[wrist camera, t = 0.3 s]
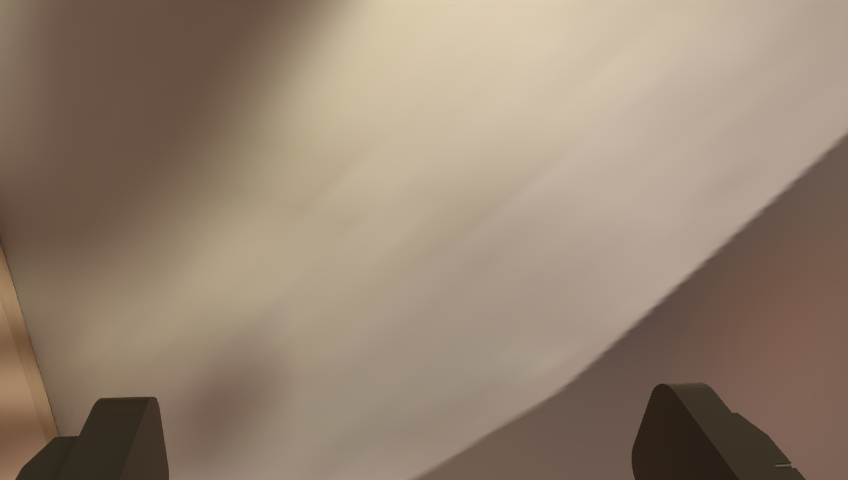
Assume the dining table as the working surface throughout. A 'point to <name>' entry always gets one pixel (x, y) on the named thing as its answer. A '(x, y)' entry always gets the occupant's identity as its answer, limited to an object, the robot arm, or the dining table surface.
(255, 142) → the dining table surface
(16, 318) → the board
